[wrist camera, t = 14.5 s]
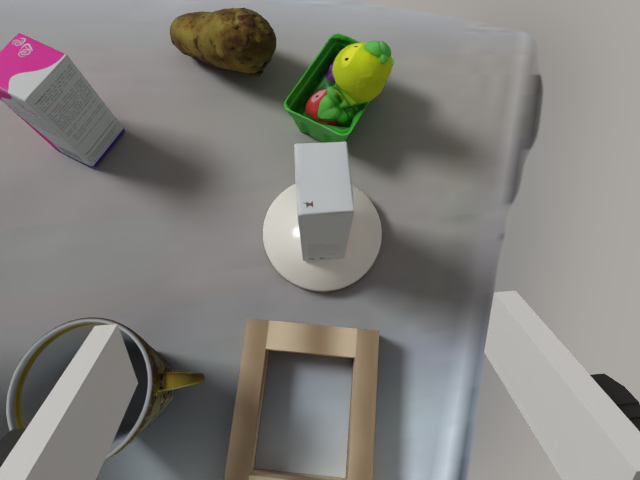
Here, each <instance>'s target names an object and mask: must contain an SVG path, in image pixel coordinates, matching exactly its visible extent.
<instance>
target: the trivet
mask: <svg viewBox="0 0 640 480" xmlns="http://www.w3.org/2000/svg"><path fill="white" fill-rule="evenodd" d="M352 188H353V198H354V215H353V220H352V224H351V229H350V234H349V239H348V243H347V247H346V252H345V257H344V258H343V259H326V260H311V261H303V258H302V250H301V241H300V233H299V225H298V216H297V200H296V184H294V185H292V186H290V187H289V188H287V189H286V190H285V191H283V192H282V193H281V194H280V195H279V196H278V197H277V198H276V199H275V200H274V202H273V203H272V205H271V206H270V208H269V210H268V212H267V215H266V218H265V221H264V226H263V241H264V246H265V250H266V252H267V255H268V257H269V260H270V261H271V263H272V265H273V267H274V268H275V269H276V271H277V272H278V273H279V274H280V275H281V276H282V277H283V278H284V279H286V280H287V281H288V282H290V283H291V284H293V285H295V286H297V287H299V288H301V289H305V290H308V291H314V292H332V291H336V290H341V289H343V288H346V287H348V286H350V285H352V284H354V283H355V282H357V281H358V280H359V279H361V278H362V277H363V276H364V275H365V274H366V273H367V272H368V270H369V269H370V268H371V266H372V265H373V263H374V261H375V259H376V257H377V255H378V252H379V249H380V246H381V239H382V228H381V222H380V218H379V215H378V213H377V211H376V209H375V207H374V205H373V204H372V202H371V201H370V200H369V198H368V197H367V196H366V195H365V194H364V193H363V192H361V191H360V190H359V189H357V188H356V187H354V186H352Z"/></svg>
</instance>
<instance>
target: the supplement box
mask: <svg viewBox="0 0 640 480" xmlns="http://www.w3.org/2000/svg"><path fill="white" fill-rule="evenodd" d="M0 99H1V100H2V101H3V102H4V103H5V104H6V105H7V106H8V107H9V108H11V109H12V110H13V111H14V112H15V113H16V114H17V115H18V116H20V117H21V118H22V119H23V120H24V121H25V122H26V123H27V124H28V125H30V126H31V127H32V128H33V129H34V130H35V131H36V132H37V133H38V134H39V135H41V136H42V137H43V138H44V139H45V140H46V141H47V142H48V143H49V144H51V145H52V146H53V147H54V148H55V149H56V150H58V151H59V152H61V153H63V154H65V155H67V156H69V157H71V158H73V159H75V160H77V161H79V162H81V163H83V164H85V165H87V166H89V167H91V168H93V169H96V167H97V166H98V165H99V164H100V162H101V161H102V160H103V158H104V157H105V156H106V155H107V153H108V152H109V151H110V150H111V148H112V147H113V146H114V145H115V143H116V142H117V141H118V140H119V138H120V137H121V136H122V134H123V133H124V131H125V130H124V129H123V127H122V126H121V125H120V123H119V122H118V121H117V119H116V118H115V117H114V115H113V114H112V113H111V111H110V110H109V109H108V108H107V106H106V105H105V104H104V102H103V101H102V100H101V98H100V97H99V96H98V94H97V93H96V92H95V91H94V89H93V88H92V87H91V85H90V84H89V83H88V82H87V80H86V79H85V78H84V76H83V75H82V74H81V72H80V71H79V70H78V69H77V67H76V66H75V65H74V63H73V62H72V61H71V59H70V58H69V57H68V55H66V54H64V53H62V52H59V51H57V50H55V49H53V48H51V47H49V46H46V45H44V44H42V43H40V42H38V41H35V40H33V39H31V38H29V37H27V36H24V35H22V34H20V33H19V34H18V35H16V36H15V37H14V38H13V39H12V40H11V41H10V42H9V43H8V45H7V46H6V47H5V48H4V49H3V50H2V51H1V52H0Z"/></svg>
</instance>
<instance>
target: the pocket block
mask: <svg viewBox="0 0 640 480" xmlns="http://www.w3.org/2000/svg"><path fill="white" fill-rule="evenodd" d="M378 349H379V331H376V330H365V329H355V328H344V327H333V326H322V325H312V324H301V323H290V322H280V321H269V320H258V319H247V325H246V332H245V339H244V346H243V353H242V360H241V366H240V373H239V380H238V387H237V394H236V400H235V407H234V414H233V421H232V428H231V435H230V441H229V448H228V455H227V462H226V469H225V476H224V480H373V460H374V438H375V416H376V393H377V371H378ZM269 351H279V352H290V353H300V354H311V355H321V356H332V357H342V358H353V370H352V385H351V401H350V417H349V433H348V448H347V464H346V478H338V477H328V476H318V475H309V474H299V473H290V472H280V471H270V470H261V469H254V464H255V457H256V449H257V441H258V433H259V425H260V417H261V409H262V401H263V394H264V386H265V378H266V370H267V362H268V354H269Z"/></svg>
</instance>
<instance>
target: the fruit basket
mask: <svg viewBox="0 0 640 480" xmlns="http://www.w3.org/2000/svg"><path fill="white" fill-rule="evenodd" d="M393 64H394V60H393V58H392V57H391V50H390V48H389V46H388V45H387V44H386V43H385V42H383V41H371V42H369V43H361V42H359V41H356V40H354V39H352V38H350V37H348V36H345V35H342V34H333V35H332V36H331V37H330V38H329V39H328V41H327V42H326V44H325V45H324V47H323V48H322V49H321V51H320V52H319V54H318V55H317V57H316V58H315V59H314V61H313V62H312V64H311V65H310V66H309V68H308V69H307V70H306V72H305V73H304V75H303V76H302V78H301V79H300V81H299V82H298V83H297V85H296V86H295V87H294V89H293V90H292V92H291V93H290V94H289V96H288V97H287V99H286V100H285V102H284V107H285V109H286V110H287V112H288V113H289V114H290V115H291V116H292V118H293V119H294V121H295V123H296V124H297V126H298V128H299V129H300V131H301V132H303V133H307V134H309V135H311V136H312V137H313V138H315V139H317V140H319V141H321V142H323V143H328V142H345V140H346V139H347V137H348V136H349V134H350V133H351V131H352V130H353V128H354V127H355V125H356V123H357V122H358V120H359V119H360V117H361V115H362V114H363V112H364V111H365V109H366V107H367V106H368V104H369V103H370V101H371V100H372V99H374V98H375V97H377V96H378V95H379V94H380V92H381V91H382V90H383V88H384V86H385V84H386V81H387V78H388V76H389V75H390V73H391V69H392V66H393Z"/></svg>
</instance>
